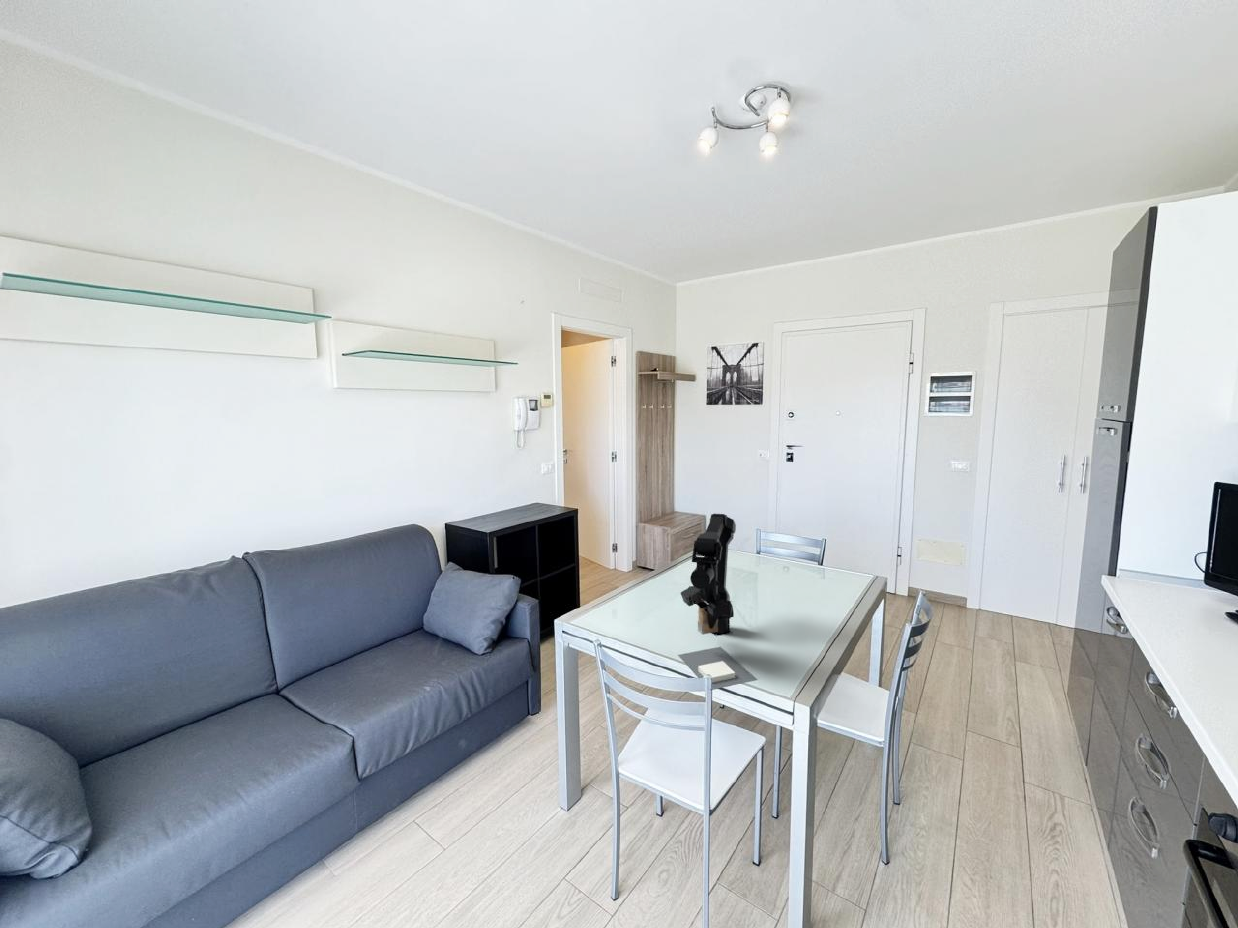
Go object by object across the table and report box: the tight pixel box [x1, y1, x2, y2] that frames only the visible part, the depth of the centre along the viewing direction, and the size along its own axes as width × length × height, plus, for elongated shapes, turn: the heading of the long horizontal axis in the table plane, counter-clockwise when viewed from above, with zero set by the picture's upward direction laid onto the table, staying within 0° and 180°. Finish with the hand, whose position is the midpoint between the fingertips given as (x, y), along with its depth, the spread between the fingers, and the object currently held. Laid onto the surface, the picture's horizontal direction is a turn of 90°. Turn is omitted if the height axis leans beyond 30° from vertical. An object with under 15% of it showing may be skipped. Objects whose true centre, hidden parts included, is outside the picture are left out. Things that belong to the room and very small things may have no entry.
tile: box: [698, 661, 735, 683], centre depth 143 cm, size 2×7×8 cm
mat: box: [677, 646, 758, 691], centre depth 147 cm, size 15×21×1 cm
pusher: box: [697, 607, 718, 636], centre depth 154 cm, size 5×3×7 cm, turn 108°
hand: (708, 626), depth 155 cm, fingers closed on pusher, 3 cm apart
